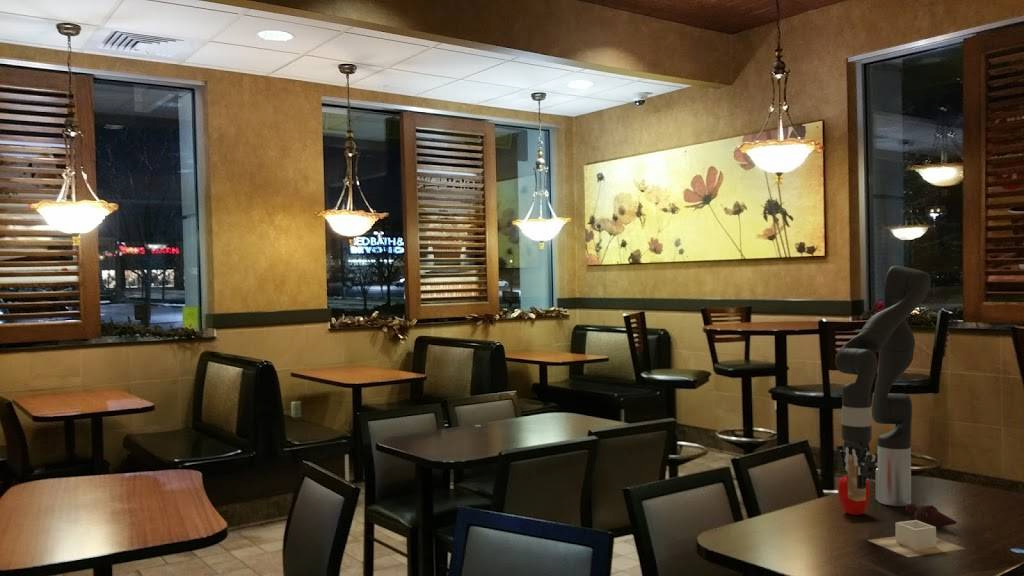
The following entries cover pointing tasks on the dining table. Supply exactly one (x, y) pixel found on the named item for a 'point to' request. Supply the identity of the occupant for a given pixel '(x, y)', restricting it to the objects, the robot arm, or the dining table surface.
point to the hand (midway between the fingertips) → (856, 486)
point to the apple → (849, 504)
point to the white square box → (915, 534)
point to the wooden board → (909, 552)
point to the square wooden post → (854, 481)
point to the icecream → (929, 516)
